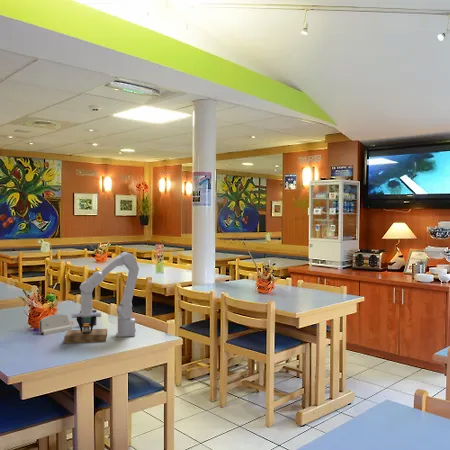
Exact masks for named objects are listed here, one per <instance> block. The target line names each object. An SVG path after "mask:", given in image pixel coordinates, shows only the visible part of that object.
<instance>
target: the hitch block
mask: <svg viewBox="0 0 450 450" xmlns="http://www.w3.org/2000/svg"><path fill="white" fill-rule="evenodd" d="M107 337H108V328H95V329H94V328H93V329H92V332H91V328H90V333H86V334H83V331H82V332H81V330H80V329H72V330H67V331H66V333H65V335H64V336H63V338H64V339H63V341H64V344H80V343H81V344H82V343H100V342H101V343H102V342H105V343H106V342H107Z"/></svg>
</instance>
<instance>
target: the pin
mask: <svg viewBox="0 0 450 450" xmlns="http://www.w3.org/2000/svg"><path fill="white" fill-rule="evenodd" d="M82 328H83V334H86V333H90V329H91V323H83V324H82Z"/></svg>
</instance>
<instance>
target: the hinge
mask: <svg viewBox="0 0 450 450" xmlns="http://www.w3.org/2000/svg"><path fill="white" fill-rule="evenodd" d="M38 322H39V323H38V324H39V335H40V334H42V335H43V336H47V335H52V334H56V333H61V332H67V331H68V330H73V327H72V326H71V323H70V320H69V316H68V315H67V314H51V315H49V316H46V317H45V316H44V317H43V318H41V319H40V320H39V321H38Z"/></svg>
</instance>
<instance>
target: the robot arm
mask: <svg viewBox="0 0 450 450" xmlns="http://www.w3.org/2000/svg"><path fill="white" fill-rule="evenodd" d="M123 266H125V267H126V269H127V270H128V273H127V278H126V282H125V287H124V290H123V294H122V299H121V300H120V302H119V305H118V307H117V308H116V313H117V314H118V316H117V332H116V337H117V338H119V337H121V338H123V337H135V336H136V332H137V330H136V318H135V317H132V316H133V303H132V301H133V297H134V293H135V288H136V284H137V279H138V275H139V271H140V269H139V265H138V262H137V258H136V257H135V256H134V254H133V253H131V252H127V251H123V252H121V253H120V254H118V255H117V256H115V257H114V258H113V259H112V260H111V261H110V262H109V263H108V264H107V265H106V266H105V267H103V268H102V269H101V270H98V271H93V272H92V275H91V276H90V277H88V278H86V279H85V281H83V282H81V284H80V285H79V290H80V311H81V313H80V312H76V313H71V319H75V321H76V322H77V324H78V326H79V330H81V332H82V331H83V326H82V317H91V326H90V329H91V332H92V329H94V326H93V324H94V322H95V319H96V320H97V318H101V317H102V312H96V313H94V312H92V310H93V291H94V288H96V287H97V286H98V285H100V284H101V283H102V282H103V281H104V280H105V277H106V276H107V275H108V274H109V273H111V272H112V271H113V270H114V269H115V268H117V267H123Z"/></svg>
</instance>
